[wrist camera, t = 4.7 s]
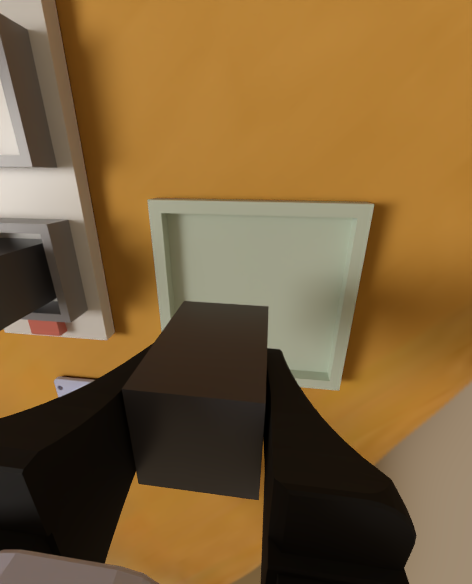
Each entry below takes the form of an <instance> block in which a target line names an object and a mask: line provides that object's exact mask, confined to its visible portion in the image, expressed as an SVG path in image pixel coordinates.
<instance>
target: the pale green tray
mask: <svg viewBox="0 0 472 584" xmlns="http://www.w3.org/2000/svg"><path fill="white" fill-rule="evenodd" d="M148 209H149V218H150V227H151V237H152V246H153V255H154V265H155V274H156V283H157V293H158V302H159V311H160V321H161V330H162V331H163V330H164V328H165V327H166V325H167V324H168V323H169V321H170V320H171V318H172V317H173V315H174V314H175V313H176V311H177V310H178V308H179V307H180V306H181V304H182V303H183V301H194V302H209V303H224V304H240V305H255V306H269V310H268V342H267V348H272V349H280V350H281V351H282V352H283V355H284V358H285V360H286V363H287V365H288V367H289V369H290V371H291V373H292V375H293V376H294V378H295V380H296V381H297V383H298V385H299V386H300V387H305V388H316V389H327V390H339V389H340V383H341V378H342V373H343V368H344V362H345V357H346V352H347V346H348V341H349V336H350V331H351V325H352V320H353V315H354V309H355V304H356V299H357V294H358V288H359V283H360V278H361V272H362V267H363V262H364V257H365V251H366V246H367V241H368V236H369V230H370V225H371V220H372V214H373V209H374V204H372V203H369V202H345V201H292V200H238V199H185V198H153V199H148Z"/></svg>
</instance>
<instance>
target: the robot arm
mask: <svg viewBox="0 0 472 584" xmlns="http://www.w3.org/2000/svg"><path fill="white" fill-rule="evenodd" d="M153 344H154V343H153ZM153 344H152V345H153ZM152 345H150V346H149V347H147V348H146V349H144V350H143V351H141V352H140V353H138V354H137V355H135V356H134V357H132V358H131V359H129V360H128V361H126V362H125V363H123V364H122V365H120V366H118V367H117V368H115V369H114V370H112V371H110V372H109V373H107V374H105V375H104V376H102V377H100V378H98V379H96V380H92V379H81V378H70V377H57V378H56V379H55V380H54V383H55V387H56V390H57V393H58V398H56V399H54V400H51V401H49V402H47V403H44V404H41V405H39V406H36V407H33V408H31V409H28V410H25V411H22V412H19V413H16V414H13V415H10V416H7V417H3V418H0V584H159V583H157V582H156V581H154V580H153V579H151V578H150V577H148V576H147V575H145V574H144V573H141V572H137V571H134V570H131V569H128V568H125V567H121V566H116V565H110V564H105V560H106V557H107V554H108V551H109V547H110V544H111V541H112V538H113V535H114V532H115V529H116V526H117V523H118V520H119V517H120V514H121V511H122V508H123V505H124V502H125V500H126V497H127V494H128V491H129V488H130V485H131V483H132V480H133V477H134V475H135V472H136V467H135V461H134V455H133V450H132V444H131V439H130V433H129V427H128V422H127V416H126V410H125V405H124V399H123V394H122V388H123V386H124V385H125V384H126V382H127V381H128V379H129V378H130V376H131V375H132V374H133V372H134V371H135V369H136V368H137V367H138V365H139V364H140V362H141V361H142V359H143V358H144V357H145V355H146V354H147V352H148V351H149V350H150V348H151V347H152ZM263 441H264V459H265V479H264V508H263V537H262V564H261V584H409V582H408V579H407V576H406V573H405V570H404V567H405V565H406V562H407V560H408V558H409V556H410V553H411V551H412V549H413V547H414V544H415V539H416V532H415V529H414V525H413V523H412V520H411V518H410V515H409V513H408V511H407V508H406V506H405V504H404V502H403V500H402V499H401V497H400V495H399V493H398V491H397V489H396V487H395V485H394V484H393V482H392V480H391V479H390V478H389V477H387V476H386V475H385V474H384V473H382V472H381V471H380V470H378V469H377V468H376V467H375V466H373V465H372V464H371V463H369V462H368V461H367V460H366V459H364V458H363V457H362V456H361V455H360V454H358V453H357V452H356V451H355V450H354V449H353V448H352V447H351V446H349V445H348V444H347V443H346V442H345V441H344V440H343V439H342V438H341V437H340V436H339V435H338V434H337V433H336V432H335V431H334V430H333V429H332V428H331V427H330V426H329V425H328V423H327V422H326V421H325V420H324V419H323V418H322V417H321V415H320V414H319V413H318V412H317V410H316V409H315V408H314V407H313V405H312V404H311V403H310V401H309V400H308V399H307V397H306V396H305V394H304V393H303V391H302V390H301V388H300V386H299V385H298V383H297V381H296V380H295V378H294V376H293V375H292V373H291V371H290V369H289V367H288V365H287V363H286V360H285V358H284V355H283V352H282V351H281V350H280V349H272V348H267V375H266V405H265V419H264V433H263Z"/></svg>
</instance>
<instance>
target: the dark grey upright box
mask: <svg viewBox="0 0 472 584" xmlns="http://www.w3.org/2000/svg"><path fill="white" fill-rule="evenodd" d="M268 310H269V306H255V305H240V304H224V303H209V302H194V301H183V303H182V304H181V306H180V307H179V308H178V310H177V311H176V313H175V314H174V315H173V317H172V318H171V320H170V321H169V323H168V324H167V325H166V327H165V328H164V330H163V331H162V332H161V334H160V335H159V337H158V338H157V340H156V341H155V342H154V344H153V345H152V347H151V348H150V350H149V351H148V352H147V354H146V355H145V357H144V358H143V359H142V361H141V362H140V364H139V365H138V367H137V368H136V369H135V371H134V372H133V374H132V375H131V376H130V378H129V379H128V381H127V382H126V384H125V385H124V386H123V388H122V394H123V399H124V405H125V410H126V416H127V422H128V427H129V433H130V439H131V444H132V450H133V455H134V461H135V467H136V472H137V478H138V483H139V484H144V485H151V486H159V487H166V488H173V489H181V490H188V491H195V492H203V493H210V494H217V495H225V496H232V497H239V498H246V499H254V500H259V488H260V474H261V460H262V446H263V433H264V419H265V405H266V375H267V342H268Z"/></svg>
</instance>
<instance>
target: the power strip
mask: <svg viewBox="0 0 472 584" xmlns="http://www.w3.org/2000/svg"><path fill="white" fill-rule="evenodd" d="M2 329H4V331H5V333H18V334H31V335H44V336H58V337H71V338H84V339H97V340H108V339H109V338H110V337H111V336H112V335H113V334H114V333H115V330H114V324H113V319H112V313H111V308H110V302H109V297H108V291H107V286H106V280H105V275H104V269H103V264H102V258H101V253H100V247H99V241H98V236H97V230H96V225H95V219H94V214H93V208H92V203H91V197H90V192H89V186H88V181H87V175H86V170H85V164H84V158H83V153H82V147H81V142H80V136H79V131H78V125H77V120H76V114H75V109H74V103H73V98H72V92H71V87H70V81H69V75H68V70H67V64H66V59H65V53H64V48H63V42H62V37H61V31H60V26H59V20H58V15H57V9H56V4H55V0H0V330H2Z"/></svg>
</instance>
